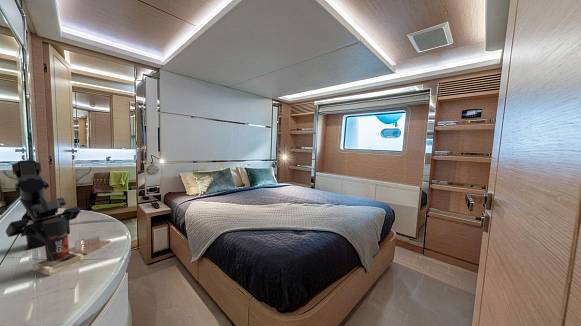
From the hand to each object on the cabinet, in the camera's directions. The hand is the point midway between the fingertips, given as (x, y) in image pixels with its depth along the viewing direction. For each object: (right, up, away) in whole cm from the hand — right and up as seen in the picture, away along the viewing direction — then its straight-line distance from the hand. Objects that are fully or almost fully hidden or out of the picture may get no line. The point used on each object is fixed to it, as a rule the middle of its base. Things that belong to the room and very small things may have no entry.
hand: (58, 237), depth 80 cm
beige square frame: (-1, -12, +2) cm, 12 cm away
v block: (-3, -10, +15) cm, 18 cm away
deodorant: (-2, -9, +1) cm, 9 cm away
